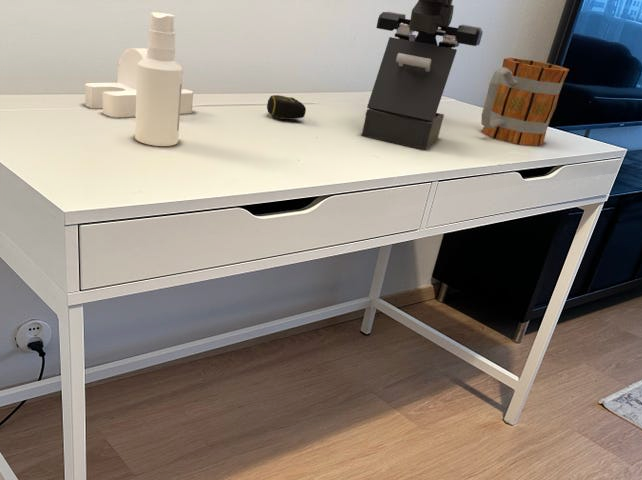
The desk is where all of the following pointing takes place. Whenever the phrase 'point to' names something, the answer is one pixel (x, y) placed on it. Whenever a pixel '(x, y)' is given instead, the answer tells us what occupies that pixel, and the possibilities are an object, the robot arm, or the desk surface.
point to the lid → (411, 79)
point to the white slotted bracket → (125, 89)
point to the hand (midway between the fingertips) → (417, 78)
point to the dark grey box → (401, 129)
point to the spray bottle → (159, 86)
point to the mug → (522, 101)
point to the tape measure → (285, 107)
